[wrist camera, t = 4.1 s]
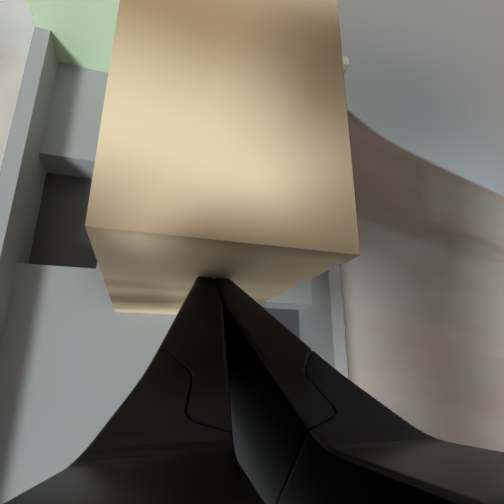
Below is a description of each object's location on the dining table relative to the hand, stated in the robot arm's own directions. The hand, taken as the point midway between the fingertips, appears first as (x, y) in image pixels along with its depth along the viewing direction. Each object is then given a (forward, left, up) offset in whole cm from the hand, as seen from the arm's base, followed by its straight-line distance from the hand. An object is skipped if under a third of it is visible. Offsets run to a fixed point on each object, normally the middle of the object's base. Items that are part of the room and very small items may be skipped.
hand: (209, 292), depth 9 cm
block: (+4, 0, -7) cm, 8 cm away
